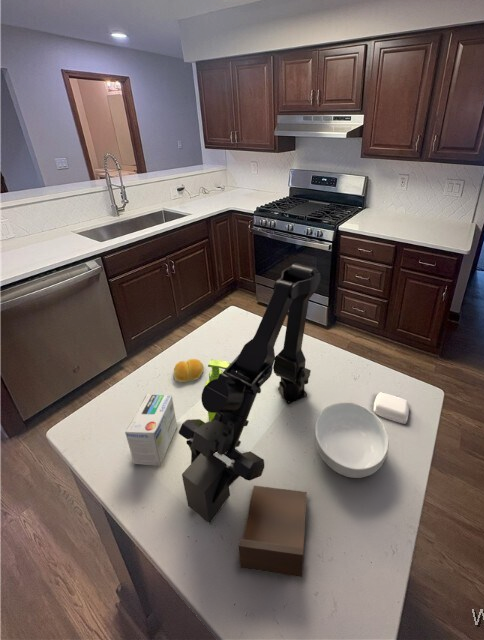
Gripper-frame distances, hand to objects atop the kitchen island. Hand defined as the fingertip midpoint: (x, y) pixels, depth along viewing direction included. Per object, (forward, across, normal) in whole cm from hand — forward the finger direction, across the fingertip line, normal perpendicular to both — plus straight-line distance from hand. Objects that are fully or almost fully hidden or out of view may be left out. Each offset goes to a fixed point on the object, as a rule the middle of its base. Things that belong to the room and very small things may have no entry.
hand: (202, 492), depth 61 cm
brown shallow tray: (0, +14, +7) cm, 16 cm away
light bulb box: (+1, -20, +7) cm, 22 cm away
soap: (-27, +26, +36) cm, 52 cm away
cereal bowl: (-15, +20, +23) cm, 34 cm away
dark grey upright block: (+2, 0, +4) cm, 5 cm away
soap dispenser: (-8, -10, +16) cm, 21 cm away
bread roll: (-14, -31, +20) cm, 40 cm away
